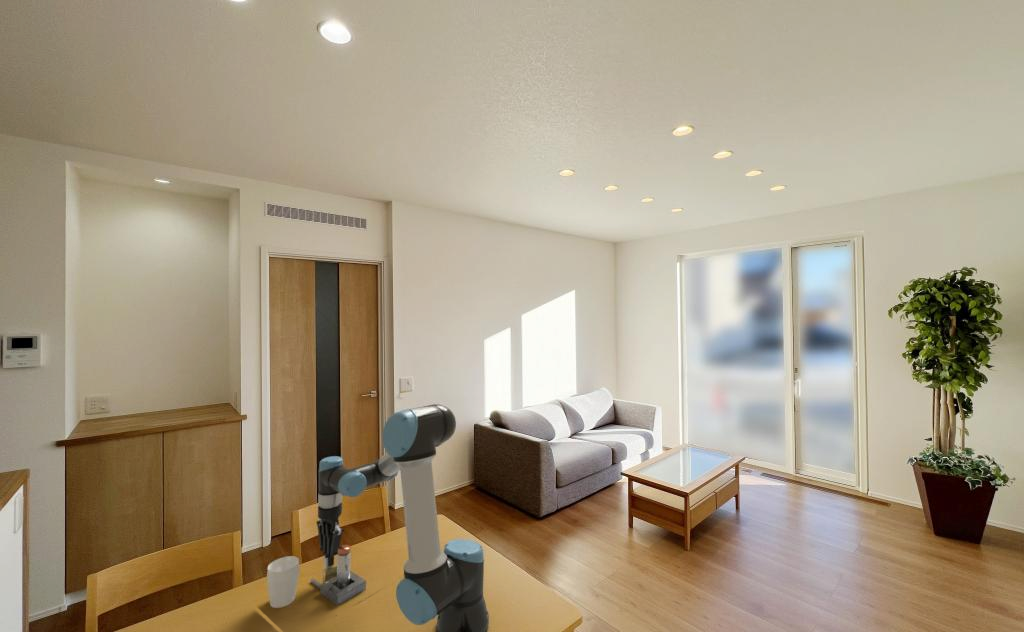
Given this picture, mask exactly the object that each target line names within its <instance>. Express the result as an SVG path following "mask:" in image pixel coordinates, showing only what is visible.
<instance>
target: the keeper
mask: <svg viewBox="0 0 1024 632" xmlns="http://www.w3.org/2000/svg"><path fill="white" fill-rule="evenodd" d="M336 576H337V562H336V563H334V565H332V566H330V567H328V568H326V569H324V568H323V569H322V584H323V583H324V582H326V581H328V580H330V579H332V578H334V577H336Z"/></svg>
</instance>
